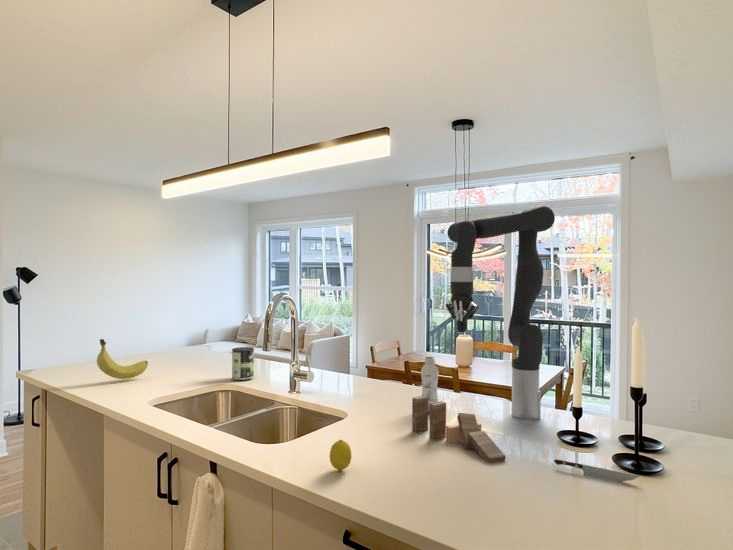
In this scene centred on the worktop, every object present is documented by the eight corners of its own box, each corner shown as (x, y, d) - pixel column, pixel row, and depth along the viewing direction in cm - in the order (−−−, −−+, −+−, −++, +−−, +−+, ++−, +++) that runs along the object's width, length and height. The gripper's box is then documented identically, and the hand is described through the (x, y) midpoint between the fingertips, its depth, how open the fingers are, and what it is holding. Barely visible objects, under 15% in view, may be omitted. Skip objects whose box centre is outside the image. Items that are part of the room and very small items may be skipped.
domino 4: (483, 445, 128) (474, 414, 137) (466, 443, 127) (459, 412, 137) (480, 450, 129) (472, 418, 138) (464, 448, 129) (457, 416, 138)
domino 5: (505, 456, 120) (483, 430, 130) (489, 458, 119) (468, 432, 129) (504, 462, 121) (482, 436, 131) (488, 464, 119) (467, 438, 129)
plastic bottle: (438, 415, 161) (438, 359, 161) (419, 413, 163) (420, 358, 163) (439, 410, 168) (439, 356, 168) (421, 408, 169) (421, 355, 169)
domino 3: (449, 444, 134) (481, 440, 137) (449, 427, 134) (481, 424, 137) (446, 442, 136) (477, 438, 139) (446, 425, 136) (477, 422, 139)
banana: (145, 374, 224) (145, 334, 224) (150, 375, 220) (150, 335, 220) (94, 382, 207) (95, 338, 207) (99, 384, 203) (100, 339, 203)
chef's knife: (640, 488, 106) (640, 475, 106) (640, 490, 106) (640, 477, 106) (554, 469, 116) (554, 458, 116) (553, 471, 115) (553, 459, 115)
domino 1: (427, 430, 145) (428, 396, 145) (416, 434, 142) (416, 399, 142) (423, 429, 146) (423, 395, 146) (412, 432, 144) (412, 397, 144)
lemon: (343, 477, 111) (343, 445, 111) (325, 472, 113) (325, 440, 113) (355, 469, 115) (355, 438, 115) (337, 464, 118) (338, 434, 118)
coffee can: (256, 375, 224) (256, 347, 224) (250, 380, 213) (250, 350, 213) (235, 375, 224) (235, 346, 224) (228, 379, 213) (229, 350, 213)
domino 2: (445, 438, 138) (446, 402, 138) (434, 441, 135) (434, 405, 135) (441, 436, 140) (441, 401, 140) (429, 439, 137) (429, 403, 137)
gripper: (484, 280, 148) (484, 333, 148) (454, 280, 158) (454, 329, 158) (469, 280, 143) (469, 335, 143) (439, 280, 154) (439, 330, 154)
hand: (461, 331), depth 151 cm, fingers closed
